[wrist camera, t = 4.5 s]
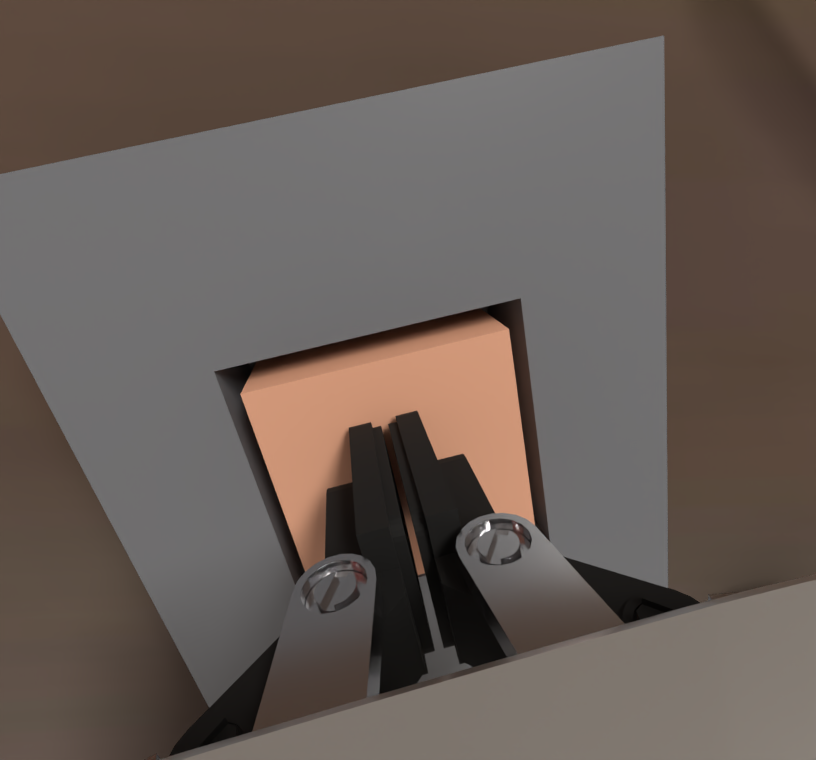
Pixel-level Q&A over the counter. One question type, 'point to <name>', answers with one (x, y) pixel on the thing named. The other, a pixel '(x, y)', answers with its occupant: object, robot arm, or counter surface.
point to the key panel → (352, 313)
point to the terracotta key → (390, 414)
